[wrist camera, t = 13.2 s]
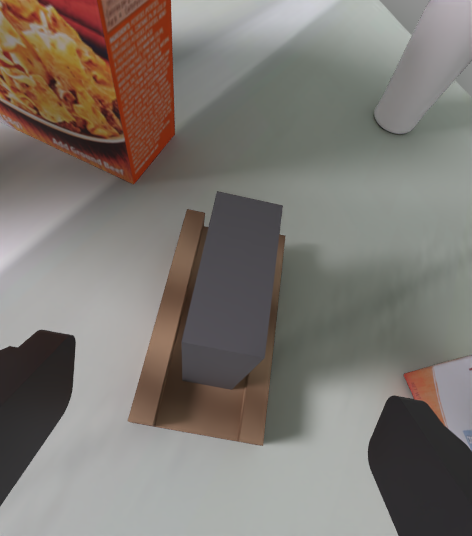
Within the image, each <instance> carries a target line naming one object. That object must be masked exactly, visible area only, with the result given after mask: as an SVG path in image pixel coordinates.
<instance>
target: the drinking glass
mask: <svg viewBox="0 0 472 536" xmlns="http://www.w3.org/2000/svg"><path fill="white" fill-rule="evenodd" d="M471 61H472V0H430V1H429V2H428V4H427V6H426V8H425V10H424V12H423V13H422V15H421V17H420V20H419V22H418V24H417V25H416V27H415V30H414V32H413V34H412V36H411V38H410V40H409V42H408V44H407V46H406V48H405V50H404V52H403V55H402V57H401V59H400V61H399V63H398V65H397V67H396V69H395V71H394V73H393V75H392V77H391V79H390V81H389V84H388V86H387V88H386V90H385V92H384V94H383V96H382V97H381V99H380V101H379V103H378V104H377V106H376V108H375V111H374V116H375V119H376V121H377V123H378V124H379V125H380V126H381V127H382V128H383V129H385V130H387V131H389V132H391V133H395V134H405V133H408V132H410V131H411V130H412V129H413V128H414V127H415V126H416V125H417V123H418V122H419V121H420V119H421V118H422V117H423V116H424V115H425V113H426V112H427V111H428V110H429V109H430V108H431V106H432V105H433V104H434V103H435V102H436V101H437V100H438V98H439V97H440V96H441V95H442V94H443V93H444V92H445V90H446V89H447V88H448V87H449V86H450V85H451V84H452V83H453V81H454V80H455V79H456V78H457V77H458V76H459V74H461V72H462V71H463V70H464V69H465V68H466V67H467V66H468V64H469V63H470V62H471Z"/></svg>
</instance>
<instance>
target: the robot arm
mask: <svg viewBox="0 0 472 536" xmlns="http://www.w3.org/2000/svg"><path fill="white" fill-rule="evenodd" d="M75 344H76V342H75V338H74V336H73V335H68V334H62V333H57V332H51V331H46V330H39V331H37V332H36V333H35V334H33V335H32V336H31V337H30V338H29V339H27V340H26V341H25V342H24V343H23V344H22V345H20V346H19V347H18V348H17V347H11V346H9V347H7V348H5V349H2V350H0V506H1V504H2V503H3V502H4V500H5V499H6V497H7V496H8V494H9V493H10V491H11V490H12V488H13V487H14V486H15V484H16V483H17V481H18V480H19V478H20V477H21V475H22V474H23V472H24V471H25V470H26V468H27V467H28V465H29V464H30V462H31V461H32V459H33V458H34V456H35V455H36V453H37V452H38V451H39V449H40V448H41V446H42V445H43V443H44V442H45V440H46V439H47V437H48V436H49V435H50V433H51V432H52V430H53V429H54V427H55V426H56V424H57V423H58V421H59V420H60V419H61V417H62V416H63V414H64V412H65V410H66V408H67V406H68V403H69V401H70V398H71V394H72V388H73V374H74V360H75ZM368 461H369V466H370V469H371V471H372V474H373V476H374V479H375V481H376V483H377V486H378V488H379V490H380V493H381V495H382V497H383V500H384V502H385V505H386V507H387V509H388V512H389V514H390V516H391V519H392V521H393V523H394V526H395V528H396V531H397V533H398V535H399V536H472V451H471V450H470V448H469V447H468V446H467V445H466V444H465V443H464V442H463V441H462V440H461V439H460V438H458V437H457V436H456V435H455V434H454V433H453V432H451V431H450V430H449V429H448V428H447V427H446V426H444V425H443V423H442V422H441V421H440V419H439V418H438V417H437V415H436V414H435V413H434V412H433V410H432V409H431V408H430V406H429V405H428V404H427V403H426V402H424V401H421V400H415V399H410V398H405V397H399V396H391V397H390V398H388V400H387V401H386V403H385V406H384V408H383V411H382V413H381V415H380V418H379V420H378V423H377V425H376V427H375V430H374V432H373V435H372V437H371V439H370V442H369V446H368Z"/></svg>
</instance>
